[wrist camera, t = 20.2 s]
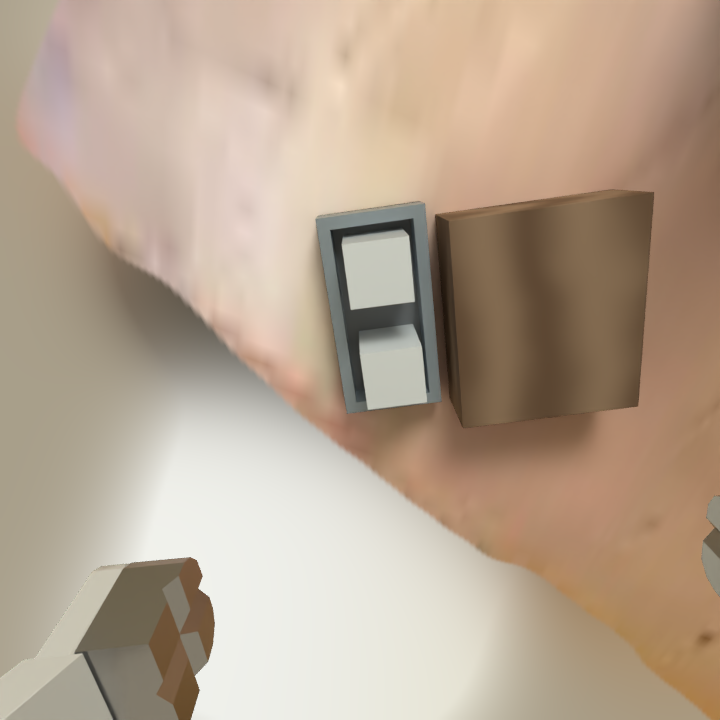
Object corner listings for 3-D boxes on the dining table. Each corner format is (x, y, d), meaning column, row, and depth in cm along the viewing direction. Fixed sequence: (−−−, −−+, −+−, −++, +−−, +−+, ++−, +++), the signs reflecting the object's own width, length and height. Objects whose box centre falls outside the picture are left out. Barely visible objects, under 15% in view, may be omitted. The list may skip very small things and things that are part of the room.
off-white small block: (412, 323, 36) (421, 346, 31) (417, 373, 38) (427, 402, 33) (358, 330, 36) (359, 354, 32) (366, 380, 38) (367, 409, 33)
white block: (401, 227, 34) (409, 236, 29) (406, 284, 35) (414, 301, 30) (343, 234, 34) (341, 244, 29) (350, 291, 35) (350, 309, 31)
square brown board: (611, 189, 33) (654, 192, 29) (603, 377, 38) (638, 406, 34) (435, 214, 34) (448, 221, 29) (449, 397, 39) (463, 428, 34)
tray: (419, 201, 33) (424, 203, 31) (436, 387, 38) (441, 401, 36) (318, 215, 34) (315, 219, 31) (347, 399, 39) (347, 413, 36)
